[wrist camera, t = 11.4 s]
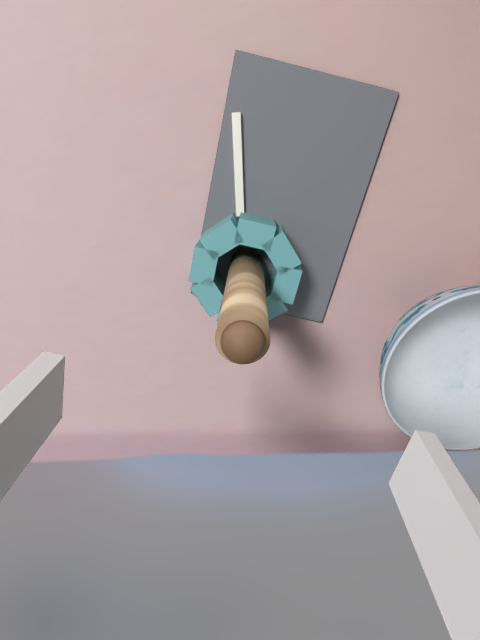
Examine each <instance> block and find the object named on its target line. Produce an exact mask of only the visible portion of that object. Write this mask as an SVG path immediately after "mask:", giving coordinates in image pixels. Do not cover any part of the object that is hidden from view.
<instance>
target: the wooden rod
mask: <svg viewBox="0 0 480 640" xmlns="http://www.w3.org/2000/svg"><path fill="white" fill-rule="evenodd" d="M215 343H216V347H217V349H218V351H219V353H220V354H221V355H222V356H223V357H224V358H225V359H227V360H228V361H230V362H233V363H236V364H250V363H253V362H255V361H257V360H259V359H261V358H262V357H263V356H264V355H265V354H266V352H267V350H268V348H269V346H270V331H269V321H268V311H267V301H266V291H265V280H264V270H263V261H262V257H261V256H260V254H259V253H258V252H257V251H256V250H254V249H251V248H242V249H239V250H237V251H236V252H235V253H234V254H233V256H232V258H231V261H230V266H229V271H228V276H227V281H226V286H225V291H224V296H223V300H222V305H221V310H220V315H219V320H218V325H217V330H216V335H215Z"/></svg>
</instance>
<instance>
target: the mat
mask: <svg viewBox="0 0 480 640" xmlns="http://www.w3.org/2000/svg"><path fill="white" fill-rule="evenodd" d="M398 94H399V92H397V91H393V90H389V89H385V88H382V87H378V86H374V85H370V84H366V83H362V82H358V81H355V80H351V79H347V78H343V77H339V76H335V75H331V74H328V73H324V72H320V71H316V70H312V69H308V68H304V67H301V66H297V65H293V64H289V63H285V62H281V61H277V60H274V59H270V58H266V57H262V56H258V55H254V54H250V53H247V52H243V51H239V50H235V56H234V61H233V66H232V72H231V77H230V83H229V88H228V94H227V99H226V105H225V110H224V115H223V121H222V126H221V132H220V137H219V143H218V148H217V154H216V159H215V164H214V170H213V175H212V181H211V186H210V192H209V197H208V203H207V208H206V213H205V219H204V224H203V230H202V235H203V234H204V232H205V231H206V230H207V229H209V228H210V227H212V226H214V225H215V224H217V223H218V222H220V221H221V220H223V219H224V218H226V217H227V216H229V215H230V214H232V213H234V215H235V216H236V202H235V179H234V156H233V134H232V113H233V112H241V137H242V164H243V192H244V212H246V213H250V214H254V215H259V216H263V217H267V218H271V219H274V220H275V224H276V226H277V225H279V224H281V226H282V228H283V229H284V231H285V233H286V235H287V236H288V238H289V240H290V241H291V243H292V245H293V247H294V248H295V250H296V252H297V254H298V256H299V258H300V261H301V263H302V264H300V266H301V269H302V271H303V272H302V275H301V278H300V282H299V285H298V289H297V292H296V295H295V299H294V302H293V305H292V304H288V303H286V305H287V309H288V311H286V312H284V313H283V314H286V315H291V316H295V317H300V318H304V319H309V320H313V321H318V322H322V320H323V317H324V314H325V311H326V308H327V305H328V302H329V299H330V296H331V293H332V290H333V287H334V284H335V281H336V278H337V275H338V272H339V269H340V266H341V263H342V260H343V257H344V254H345V251H346V248H347V246H348V243H349V240H350V237H351V234H352V231H353V228H354V225H355V222H356V219H357V216H358V213H359V210H360V207H361V204H362V201H363V198H364V195H365V192H366V189H367V186H368V183H369V180H370V177H371V174H372V171H373V168H374V165H375V162H376V159H377V156H378V153H379V150H380V147H381V145H382V142H383V139H384V136H385V133H386V130H387V127H388V124H389V121H390V118H391V115H392V112H393V109H394V106H395V103H396V100H397V97H398ZM239 217H240V216H237V217H236V218H237V219H238V221H239ZM202 235H201V237H202ZM242 248H251V249H254V250H256V251H257V252H258V253H259V254H260V256H261V257H262V261H263V270H264V280H265V283H266V282H268V281H269V280H270V277H271V273H272V269H273V263H272V261H271V260H270V258H269V257H268V255H267V253H266V252H265V250H262V249H258V248H253V247H249V246H245V245H240V244H239V245H238V246H236V247H234V248H233V249H231V250H230V251H228V252H226V253H225V254H223V255H222V256H220V258H219V263H218V268H217V269H218V270H219V272H220V273H221V275H222V276H223V278H224V279H225V281H227V276H228V271H229V266H230V261H231V258H232V256H233V254H234V253H235V252H236V251H237V250H239V249H242ZM193 283H194V282H193ZM192 285H193V284H192ZM191 293H192V294H194V293H193V292H192V290H191Z"/></svg>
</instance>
